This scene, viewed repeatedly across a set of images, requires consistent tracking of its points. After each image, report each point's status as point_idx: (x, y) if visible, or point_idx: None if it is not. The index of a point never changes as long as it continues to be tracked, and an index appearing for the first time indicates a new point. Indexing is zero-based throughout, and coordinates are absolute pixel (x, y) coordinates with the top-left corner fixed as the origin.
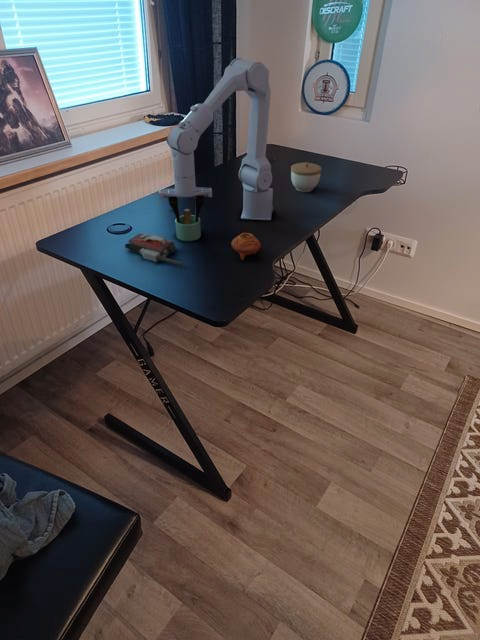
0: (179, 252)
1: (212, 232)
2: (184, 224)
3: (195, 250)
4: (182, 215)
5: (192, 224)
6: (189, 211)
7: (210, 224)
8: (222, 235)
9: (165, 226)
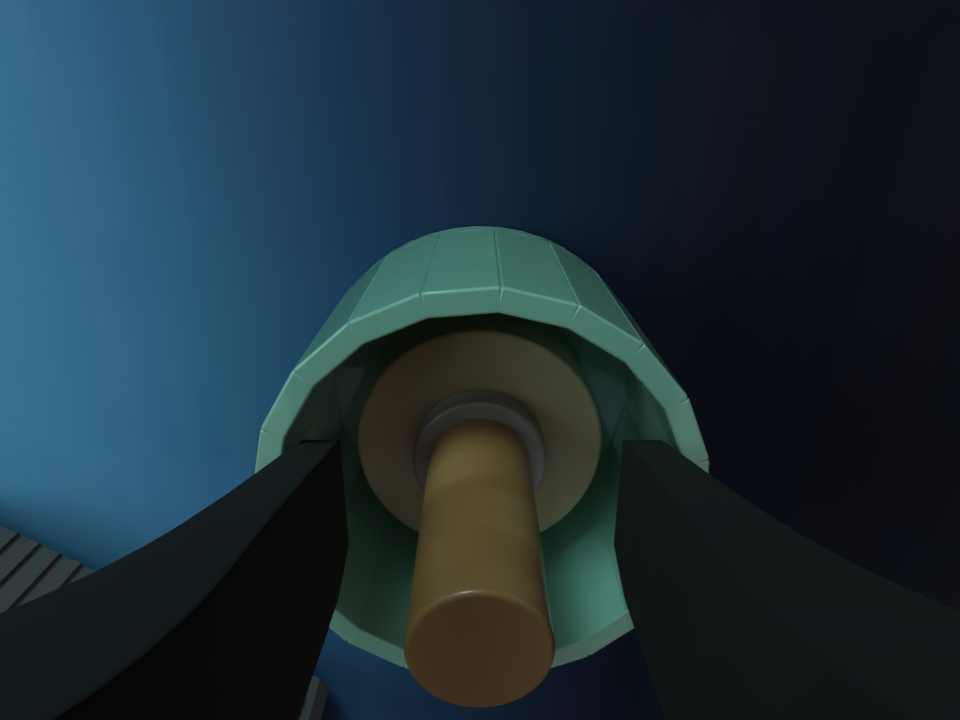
0: (379, 707)
1: (800, 325)
2: (424, 460)
3: (536, 689)
4: (380, 317)
5: (552, 666)
6: (536, 671)
7: (841, 45)
8: (902, 419)
9: (118, 36)
